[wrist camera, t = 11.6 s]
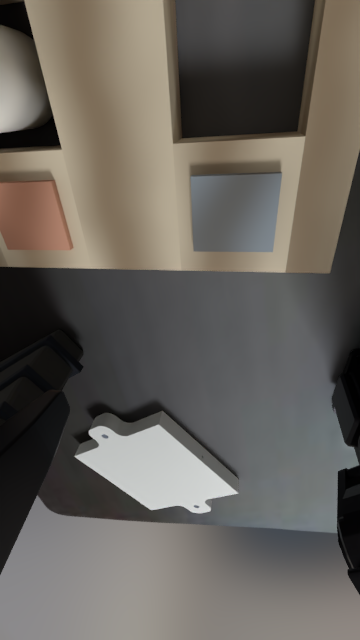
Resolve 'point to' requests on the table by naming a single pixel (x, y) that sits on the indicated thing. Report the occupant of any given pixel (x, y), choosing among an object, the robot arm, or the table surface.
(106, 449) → the mounting plate
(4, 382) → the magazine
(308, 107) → the socket board
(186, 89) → the table surface
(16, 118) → the plug
